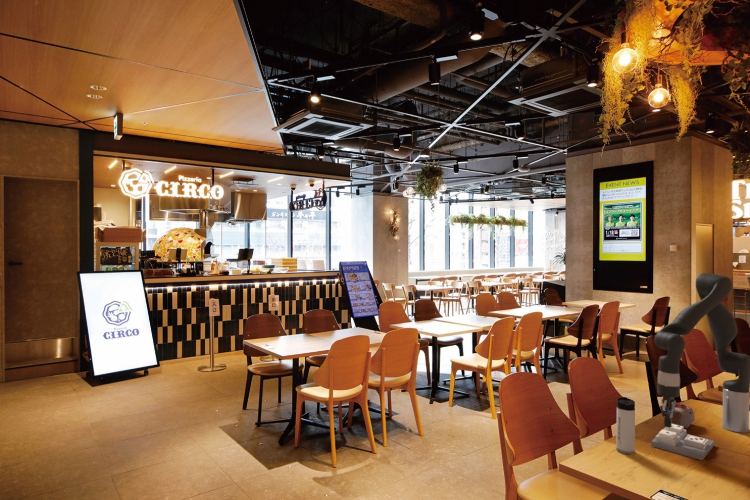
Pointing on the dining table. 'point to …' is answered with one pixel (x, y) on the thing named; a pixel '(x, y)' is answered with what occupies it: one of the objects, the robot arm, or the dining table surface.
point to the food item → (683, 415)
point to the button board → (684, 445)
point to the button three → (696, 439)
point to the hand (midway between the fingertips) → (667, 426)
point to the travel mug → (625, 426)
